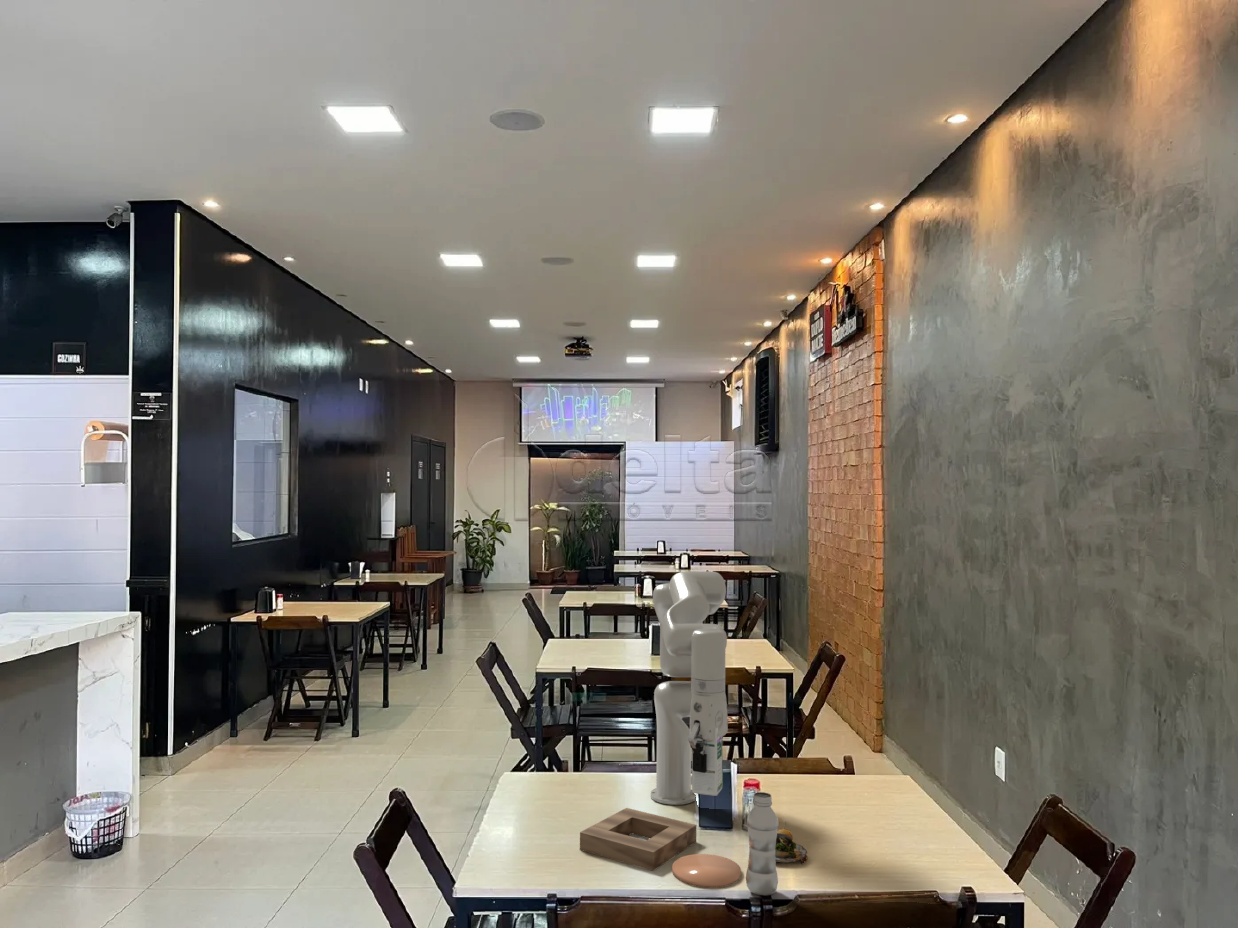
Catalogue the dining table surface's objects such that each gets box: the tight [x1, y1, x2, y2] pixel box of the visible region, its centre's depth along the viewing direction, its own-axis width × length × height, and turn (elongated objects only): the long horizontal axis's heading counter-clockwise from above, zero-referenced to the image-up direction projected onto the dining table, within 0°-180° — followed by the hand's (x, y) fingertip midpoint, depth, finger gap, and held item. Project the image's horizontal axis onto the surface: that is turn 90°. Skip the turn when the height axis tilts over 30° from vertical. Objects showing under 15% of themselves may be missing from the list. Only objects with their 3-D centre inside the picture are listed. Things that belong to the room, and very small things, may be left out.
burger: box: [775, 821, 808, 865], centre depth 197 cm, size 12×12×8 cm
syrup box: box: [691, 727, 724, 797], centre depth 189 cm, size 6×6×14 cm
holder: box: [579, 807, 697, 872], centre depth 202 cm, size 20×20×4 cm
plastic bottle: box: [745, 791, 780, 896], centre depth 178 cm, size 6×7×20 cm
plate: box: [671, 853, 742, 889], centre depth 187 cm, size 15×15×1 cm
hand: (707, 766), depth 188 cm, fingers closed on syrup box, 6 cm apart
